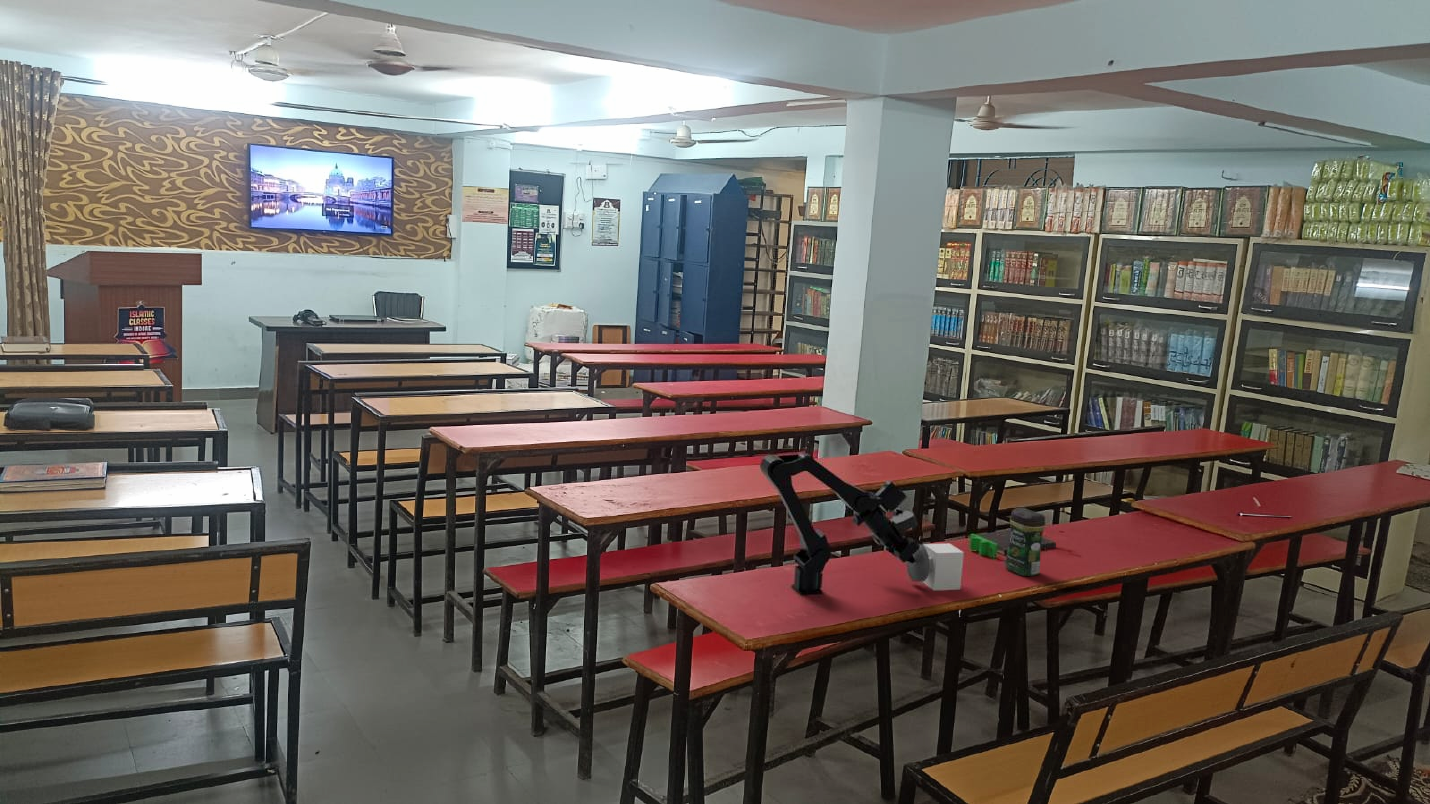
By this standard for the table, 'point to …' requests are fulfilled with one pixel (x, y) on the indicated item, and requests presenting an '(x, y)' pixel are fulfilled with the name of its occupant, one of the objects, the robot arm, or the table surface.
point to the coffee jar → (1025, 542)
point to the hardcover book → (1005, 537)
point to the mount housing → (944, 567)
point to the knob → (920, 565)
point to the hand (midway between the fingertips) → (913, 561)
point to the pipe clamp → (983, 546)
